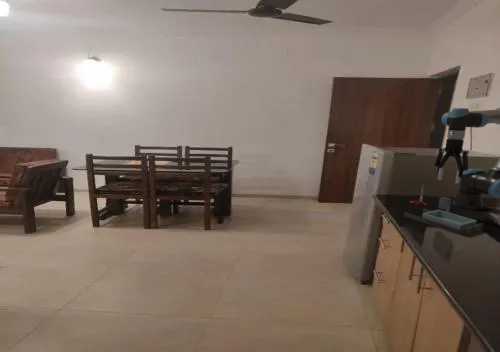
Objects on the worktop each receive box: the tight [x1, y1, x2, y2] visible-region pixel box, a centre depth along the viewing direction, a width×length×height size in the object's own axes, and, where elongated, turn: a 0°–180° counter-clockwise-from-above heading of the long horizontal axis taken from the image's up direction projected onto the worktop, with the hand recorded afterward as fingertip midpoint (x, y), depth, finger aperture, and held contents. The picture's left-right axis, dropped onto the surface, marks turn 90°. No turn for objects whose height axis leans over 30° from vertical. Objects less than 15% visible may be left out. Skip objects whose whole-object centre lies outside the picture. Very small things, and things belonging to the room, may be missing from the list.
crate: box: [421, 209, 478, 230], centre depth 152 cm, size 14×18×4 cm
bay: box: [403, 208, 484, 237], centre depth 155 cm, size 17×29×4 cm, turn 29°
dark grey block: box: [437, 196, 452, 213], centre depth 168 cm, size 4×4×10 cm
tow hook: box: [409, 184, 428, 206], centre depth 190 cm, size 8×13×9 cm
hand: (448, 181), depth 165 cm, fingers open, 8 cm apart
